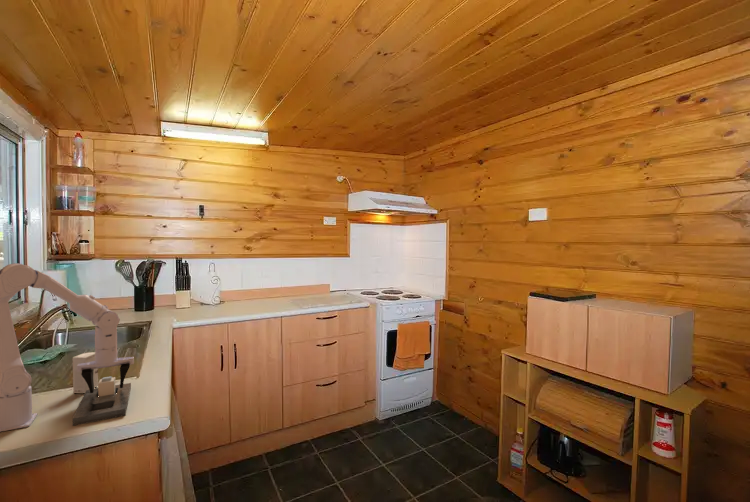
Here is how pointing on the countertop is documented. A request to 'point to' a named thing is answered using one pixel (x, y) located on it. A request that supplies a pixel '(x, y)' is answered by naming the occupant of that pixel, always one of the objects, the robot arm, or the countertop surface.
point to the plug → (106, 386)
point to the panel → (102, 405)
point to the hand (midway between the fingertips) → (107, 389)
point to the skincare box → (78, 380)
